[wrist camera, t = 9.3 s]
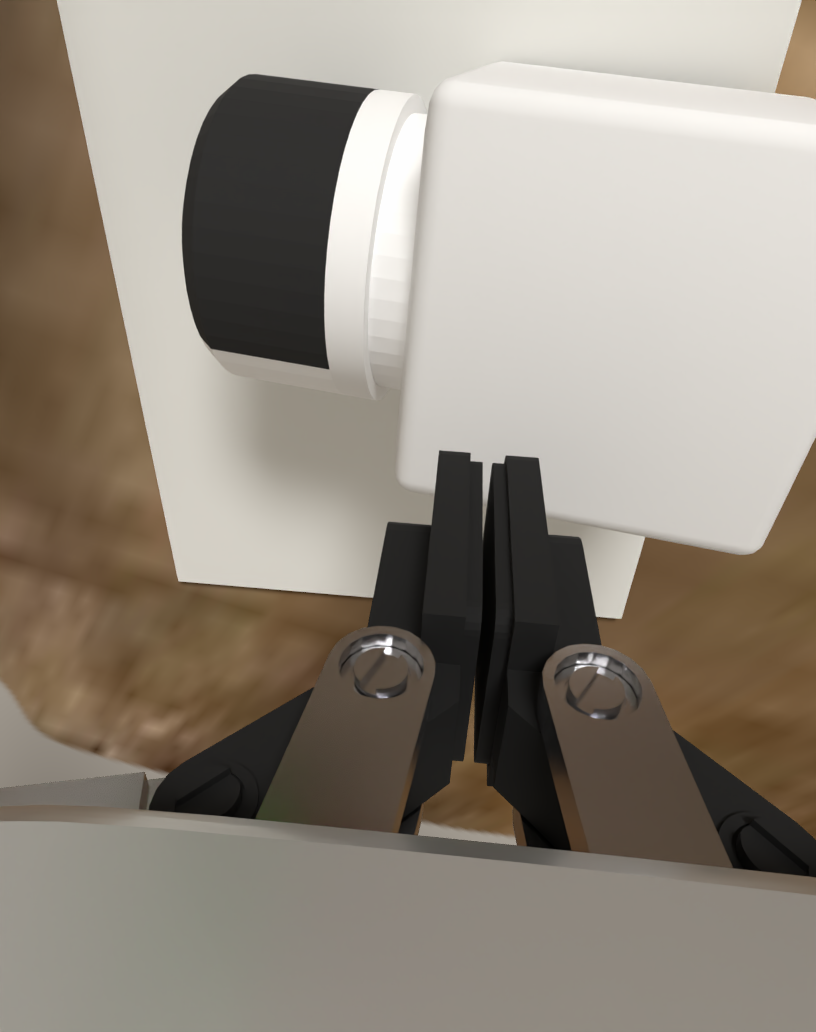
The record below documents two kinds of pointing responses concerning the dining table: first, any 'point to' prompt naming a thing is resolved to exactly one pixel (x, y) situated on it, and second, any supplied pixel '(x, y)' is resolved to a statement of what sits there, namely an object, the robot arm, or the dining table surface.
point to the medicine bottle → (530, 279)
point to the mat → (297, 410)
